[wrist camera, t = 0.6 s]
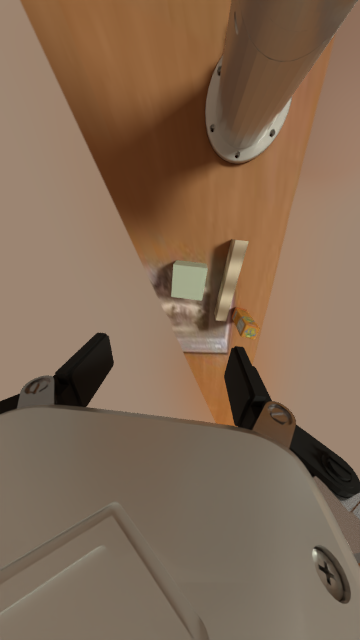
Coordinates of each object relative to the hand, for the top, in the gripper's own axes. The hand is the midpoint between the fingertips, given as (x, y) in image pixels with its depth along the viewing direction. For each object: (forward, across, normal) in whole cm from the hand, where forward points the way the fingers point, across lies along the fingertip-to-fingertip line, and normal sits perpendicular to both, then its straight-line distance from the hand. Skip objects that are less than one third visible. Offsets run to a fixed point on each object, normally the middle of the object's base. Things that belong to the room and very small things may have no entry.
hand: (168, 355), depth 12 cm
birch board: (+29, -10, 0) cm, 31 cm away
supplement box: (+30, -15, +9) cm, 34 cm away
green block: (+30, -1, 0) cm, 30 cm away
